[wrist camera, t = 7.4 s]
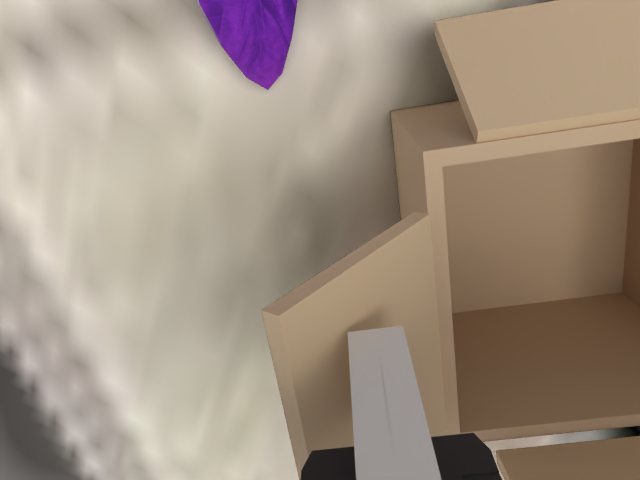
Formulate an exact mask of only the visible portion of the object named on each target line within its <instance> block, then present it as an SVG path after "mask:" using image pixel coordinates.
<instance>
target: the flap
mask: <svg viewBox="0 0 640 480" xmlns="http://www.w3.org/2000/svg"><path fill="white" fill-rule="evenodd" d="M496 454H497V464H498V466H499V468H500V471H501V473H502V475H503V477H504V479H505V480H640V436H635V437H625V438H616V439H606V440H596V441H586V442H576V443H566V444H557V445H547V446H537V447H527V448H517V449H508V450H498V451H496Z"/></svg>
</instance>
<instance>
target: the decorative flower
mask: <svg viewBox="0 0 640 480" xmlns="http://www.w3.org/2000/svg"><path fill="white" fill-rule="evenodd" d="M197 2H198V5H199V7H200V9H201V11H202V12H203V14H204V16H205V18H206V20H207V21H208V23H209V25H210V27H211V29H212V30H213V32H214V34H215V36H216V37H217V39H218V41H219V43H220V45H221V46H222V47H223V49H224V50H225V51H226V52H227V54H228V55H229V56H230V57H231V59H232V60H233V61H234V62H235V64H236V65H237V66H238V67H239V69H240V70H241V71H242V72H243V74H244V75H245V76H246V77H247V78H248V79H250V80H252V81H254V82H255V83H257V84H259V85H260V86H262V87H264V88H266V89H267V90H268V89H269V88H270V87H271V86H272V84H273V83H274V82H275V81H276V80H277V79H278V77H279V76H280V75H281V74H282V71H283V68H284V64H285V60H286V57H287V53H288V50H289V46H290V42H291V39H292V33H293V26H294V20H295V13H296V6H297V0H197Z"/></svg>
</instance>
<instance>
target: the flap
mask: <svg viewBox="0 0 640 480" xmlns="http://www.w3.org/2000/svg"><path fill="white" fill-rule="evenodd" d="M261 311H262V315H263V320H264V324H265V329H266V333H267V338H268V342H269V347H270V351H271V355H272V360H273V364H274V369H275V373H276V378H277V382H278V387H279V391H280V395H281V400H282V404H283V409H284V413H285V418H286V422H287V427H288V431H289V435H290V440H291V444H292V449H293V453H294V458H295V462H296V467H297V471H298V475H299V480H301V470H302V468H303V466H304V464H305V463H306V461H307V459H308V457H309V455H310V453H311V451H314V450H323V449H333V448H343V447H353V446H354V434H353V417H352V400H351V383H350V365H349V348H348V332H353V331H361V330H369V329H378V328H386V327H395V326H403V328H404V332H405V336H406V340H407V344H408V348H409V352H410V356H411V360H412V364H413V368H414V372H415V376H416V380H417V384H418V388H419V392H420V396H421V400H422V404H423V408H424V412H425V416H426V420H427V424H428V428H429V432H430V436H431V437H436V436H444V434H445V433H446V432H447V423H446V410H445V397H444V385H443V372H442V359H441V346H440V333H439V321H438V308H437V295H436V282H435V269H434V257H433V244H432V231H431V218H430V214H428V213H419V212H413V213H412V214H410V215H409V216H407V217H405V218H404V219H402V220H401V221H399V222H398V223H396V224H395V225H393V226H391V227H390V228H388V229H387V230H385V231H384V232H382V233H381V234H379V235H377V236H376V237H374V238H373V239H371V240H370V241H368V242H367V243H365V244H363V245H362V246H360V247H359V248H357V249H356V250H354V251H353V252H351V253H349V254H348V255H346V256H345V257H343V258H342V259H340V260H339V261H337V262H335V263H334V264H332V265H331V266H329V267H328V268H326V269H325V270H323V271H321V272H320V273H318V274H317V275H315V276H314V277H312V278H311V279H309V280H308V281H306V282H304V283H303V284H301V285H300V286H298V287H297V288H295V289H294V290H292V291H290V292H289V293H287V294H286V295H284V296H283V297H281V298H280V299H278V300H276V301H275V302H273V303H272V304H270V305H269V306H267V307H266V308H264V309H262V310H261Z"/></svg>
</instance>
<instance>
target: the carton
mask: <svg viewBox="0 0 640 480" xmlns="http://www.w3.org/2000/svg"><path fill="white" fill-rule="evenodd" d="M434 35H435V38H436V40H437V43H438V45H439V48H440V51H441V53H442V56H443V59H444V61H445V64H446V67H447V69H448V72H449V75H450V77H451V80H452V83H453V85H454V88H455V90H456V93H457V96H458V98H459V100H457V101H451V102H445V103H438V104H432V105H425V106H419V107H412V108H406V109H399V110H393V111H390V116H391V126H392V136H393V146H394V156H395V166H396V176H397V185H398V195H399V205H400V215H401V220H402V219H404V218H405V217H407V216H409V215H410V214H412V213H413V212H419V213H428V214H430V218H431V231H432V244H433V257H434V269H435V282H436V295H437V308H438V321H439V333H440V346H441V359H442V372H443V385H444V397H445V410H446V423H447V432H446V433H445V434H444V436H445V435H455V434H465V433H474V434H475V435H476V436H477V437H478V438H479V439H480V440H481V441H482V442H485V441H494V440H504V439H514V438H523V437H533V436H543V435H552V434H562V433H572V432H581V431H591V430H601V429H610V428H620V427H630V426H639V425H640V0H556V1H550V2H544V3H538V4H532V5H526V6H520V7H514V8H508V9H502V10H496V11H490V12H484V13H478V14H472V15H466V16H460V17H454V18H448V19H442V20H436V21H435V28H434Z"/></svg>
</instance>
